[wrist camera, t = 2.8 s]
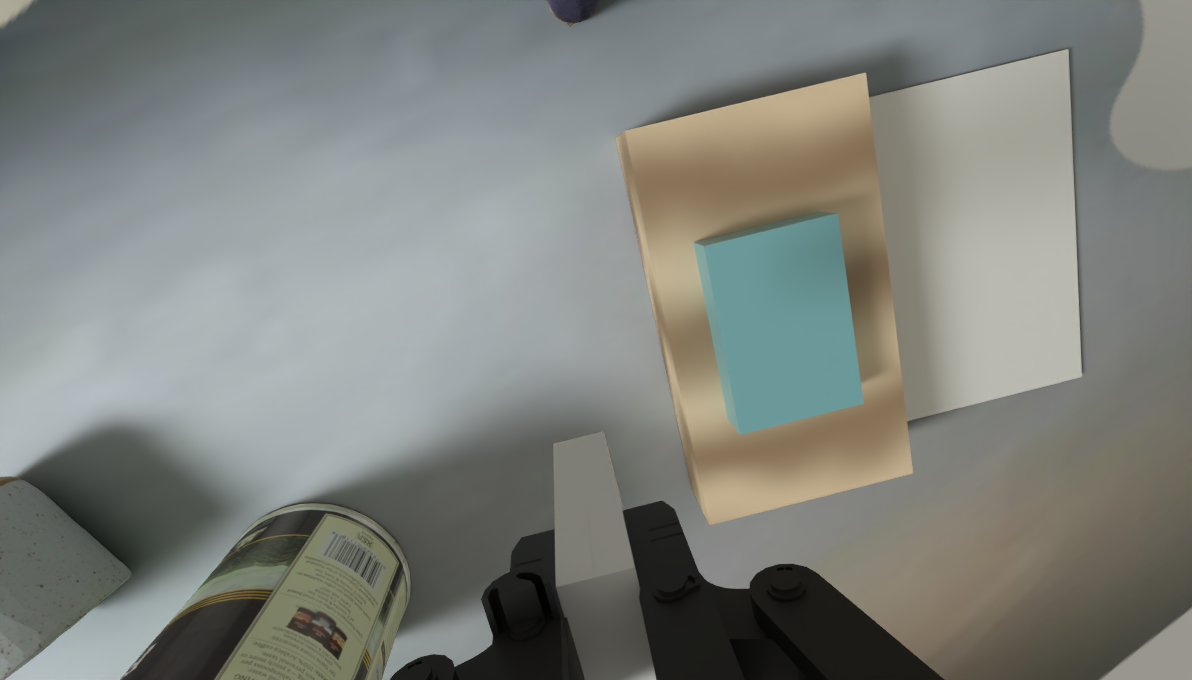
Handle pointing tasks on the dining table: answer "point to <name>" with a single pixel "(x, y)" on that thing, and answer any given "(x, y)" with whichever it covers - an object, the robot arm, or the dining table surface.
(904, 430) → the tan flat rectangular slab
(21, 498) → the ceramic mug
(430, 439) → the dining table surface
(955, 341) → the mat
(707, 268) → the teal rectangular block
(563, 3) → the flask
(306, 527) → the coffee can
